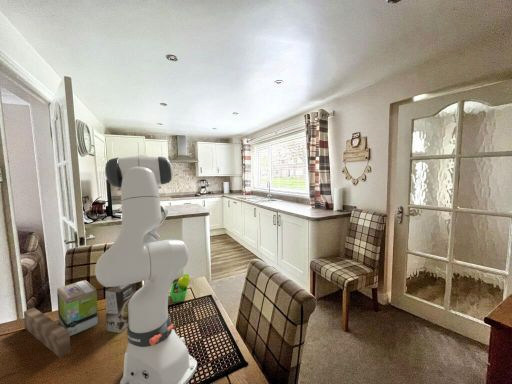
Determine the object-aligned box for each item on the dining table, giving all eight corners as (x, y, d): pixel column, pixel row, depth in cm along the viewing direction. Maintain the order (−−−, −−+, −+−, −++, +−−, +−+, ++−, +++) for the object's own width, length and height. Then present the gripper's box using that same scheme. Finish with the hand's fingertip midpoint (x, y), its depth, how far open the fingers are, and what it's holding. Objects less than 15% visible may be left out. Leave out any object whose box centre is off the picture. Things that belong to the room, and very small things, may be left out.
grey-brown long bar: (70, 351, 75) (69, 331, 74) (59, 357, 72) (58, 337, 71) (35, 324, 89) (34, 307, 88) (24, 328, 86) (23, 311, 86)
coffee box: (120, 333, 83) (118, 292, 82) (106, 331, 84) (104, 290, 83) (137, 318, 92) (136, 281, 91) (124, 316, 93) (123, 280, 92)
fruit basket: (173, 292, 113) (172, 271, 112) (190, 290, 115) (190, 269, 115) (169, 304, 102) (169, 281, 101) (189, 301, 104) (188, 279, 104)
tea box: (99, 324, 88) (97, 288, 88) (67, 338, 81) (64, 299, 80) (87, 310, 98) (85, 278, 97) (57, 322, 90) (55, 287, 89)
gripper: (129, 226, 118) (111, 249, 110) (154, 230, 108) (136, 255, 100) (137, 233, 122) (120, 255, 114) (162, 237, 113) (145, 262, 104)
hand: (128, 255), depth 107 cm, fingers closed
